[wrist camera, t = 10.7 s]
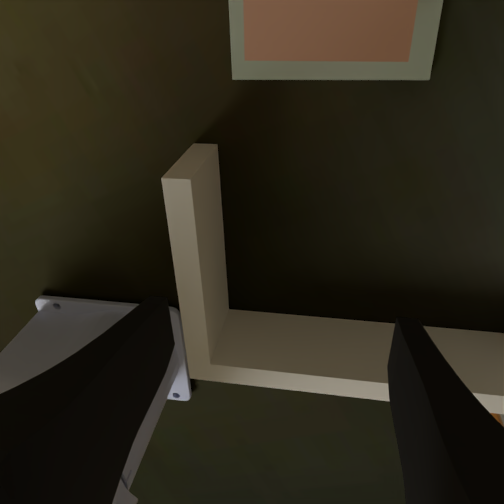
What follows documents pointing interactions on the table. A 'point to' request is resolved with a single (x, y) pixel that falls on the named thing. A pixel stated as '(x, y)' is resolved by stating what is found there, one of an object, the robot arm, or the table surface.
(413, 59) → the mat
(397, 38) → the block
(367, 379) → the u-shaped wall
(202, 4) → the table surface
